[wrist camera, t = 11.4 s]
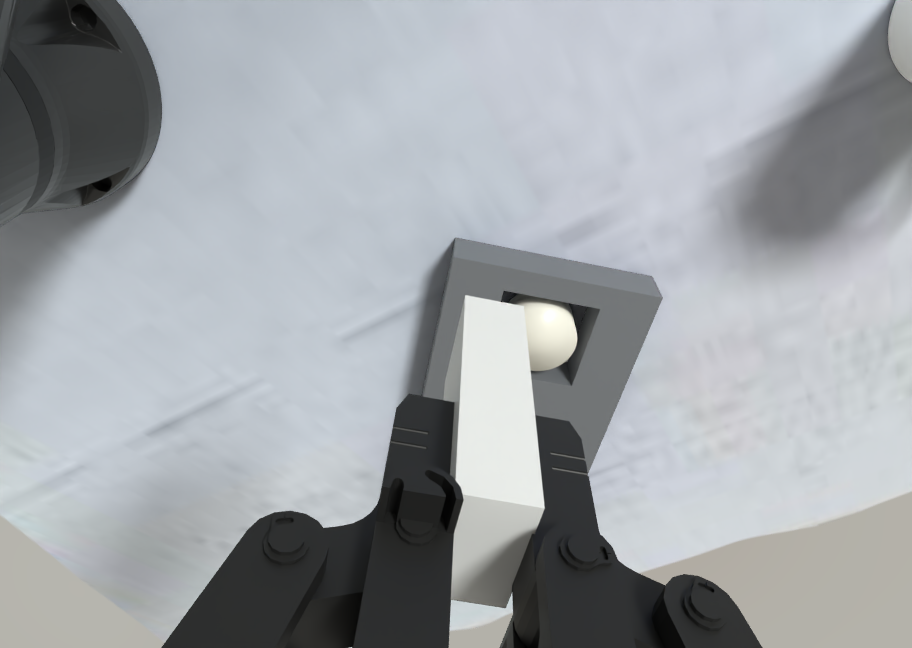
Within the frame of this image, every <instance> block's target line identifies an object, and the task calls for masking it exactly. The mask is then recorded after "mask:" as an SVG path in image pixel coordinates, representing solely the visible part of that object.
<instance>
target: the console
mask: <svg viewBox="0 0 912 648" xmlns="http://www.w3.org/2000/svg"><path fill="white" fill-rule="evenodd" d="M504 291H509V292H514V293H519V294H524V295H529V296H535V297H540V298H545V299H550V300H555V301H561V302H566V303H571V304H576V305H581V306H587V308H586V311H585V314H584V317H583V319H582V322H581V325H580V328H579V331H578V333H577V345H576V348H575V350H574V352H573V354H572V355H571V356H570V358H569V359H568V362H564V363H563V364H561V365H560V366H558V367H555V368H553V369H550V370H545V371H531V380H532V390H533V399H534V409H535V415H537V416H543V417H548V418H554V419H560V420H565V421H569V422H570V423H571V425H572V426H573V427H574V429H575V430H576V432H577V433H578V435H579V436H580V438H581V439H582V444H583V450H584V455H585V461H586V465H587V471H588V472H589V470H590V468H591V465H592V463H593V461H594V458H595V456H596V453H597V451H598V449H599V446H600V444H601V442H602V439H603V437H604V435H605V432H606V430H607V428H608V425H609V423H610V421H611V418H612V416H613V413H614V411H615V409H616V406H617V404H618V402H619V399H620V397H621V395H622V392H623V390H624V388H625V385H626V383H627V381H628V378H629V376H630V374H631V371H632V369H633V366H634V364H635V362H636V359H637V357H638V355H639V352H640V350H641V348H642V345H643V343H644V341H645V338H646V336H647V334H648V331H649V329H650V326H651V324H652V322H653V319H654V317H655V315H656V312H657V310H658V308H659V305H660V303H661V301H662V298H663V297H662V295H661V293H660V291H659V289H658V287H657V285H656V283H655V281H654V279H653V277H652V276H647V275H642V274H637V273H632V272H627V271H621V270H616V269H611V268H606V267H601V266H596V265H591V264H586V263H581V262H576V261H571V260H566V259H561V258H556V257H551V256H546V255H540V254H535V253H530V252H525V251H520V250H515V249H510V248H505V247H500V246H495V245H490V244H485V243H480V242H475V241H470V240H464V239H459V238H455V242H454V247H453V252H452V256H451V261H450V266H449V270H448V275H447V280H446V284H445V289H444V294H443V298H442V303H441V308H440V312H439V317H438V322H437V326H436V331H435V336H434V340H433V345H432V350H431V354H430V359H429V364H428V368H427V373H426V378H425V382H424V387H423V392H422V396H423V397H428V398H434V399H439V400H444V388H445V379H446V375H447V371H448V367H449V362H450V358H451V354H452V350H453V345H454V341H455V337H456V333H457V328H458V324H459V320H460V316H461V311H462V307H463V303H464V299H465V295H468V296H473V297H478V298H483V299H489V300H494V301H499V302H501V299H502V295H503V292H504ZM587 475H588V474H587Z"/></svg>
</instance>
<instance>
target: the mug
mask: <svg viewBox="0 0 912 648" xmlns="http://www.w3.org/2000/svg"><path fill="white" fill-rule="evenodd" d="M888 46H889V51H890V55H891V58H892V61H893V63H894V65H895V67H896V68H897V70H898V71H899V72H900V74H901V75H902V76H903V77H904V78H906V79H907V80H908V81H909V82H911V83H912V0H896V1H895V4H894V6H893V9H892V13H891V16H890V21H889V27H888Z"/></svg>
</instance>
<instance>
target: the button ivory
mask: <svg viewBox="0 0 912 648" xmlns="http://www.w3.org/2000/svg"><path fill="white" fill-rule="evenodd" d="M508 303H510V304H515V305H520V306H524V312H525V322H526V331H527V341H528V351H529V361H530V370H531V371H545V370H550V369H553V368H555V367H558V366H560V365H561V364H563V363H564V362H566V361H567V360H568V359H569V358H570V356H571V355H572V354H573V352H574V350H575V348H576V345H577V332H576V327H575V323H574V318H573V314H572V310H571V308H570V306H569V304H568V303H566V302H561V301H555V300H550V299H545V298H540V297H535V296H529V295H524V294H518V295H516V296H515V297H513V298H512V299H511V300H510V301H509V302H508Z"/></svg>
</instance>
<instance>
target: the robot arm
mask: <svg viewBox="0 0 912 648" xmlns="http://www.w3.org/2000/svg"><path fill="white" fill-rule="evenodd" d="M161 119H162V102H161V93H160V86H159V82H158V77H157V74H156V70H155V67H154V64H153V61H152V59H151V56H150V54H149V51H148V49H147V47H146V45H145V43H144V41H143V39H142V37H141V35H140V33H139V32H138V30H137V28H136V26H135V25H134V23H133V22H132V20H131V19H130V17H129V16H128V15H127V13H126V12H125V11H124V9H123V8H122V7H121V5H120V4H119V3H118V2H117V1H116V0H0V227H1V226H2V225H4V224H6V223H7V222H9V221H10V220H12V219H13V218H15V217H16V216H18V215H20V214H21V213H30V212H40V211H49V210H58V209H67V208H75V207H80V206H84V205H88V204H91V203H94V202H96V201H99V200H101V199H103V198H105V197H107V196H109V195H111V194H112V193H114V192H115V191H117V190H118V189H120V188H121V187H122V186H124V185H125V184H127V183H128V182H129V181H131V180H132V179H133V178H134V177H135V176H136V175H137V174H138V173H140V171H141V170H142V169H143V168H144V167H145V165H146V164H147V162H148V161H149V159H150V157H151V156H152V154H153V151H154V149H155V147H156V144H157V141H158V137H159V133H160V128H161ZM587 474H588V471H587V465H586V461H585V455H584V450H583V444H582V439H581V438H580V436H579V435H578V433H577V432H576V430H575V429H574V427H573V426H572V425H571V423H570V422H569V421H565V420H560V419H554V418H548V417H543V416H537V415H535V409H534V399H533V390H532V380H531V370H530V361H529V351H528V341H527V331H526V322H525V312H524V306H520V305H515V304H510V303H504V302H499V301H494V300H489V299H483V298H478V297H473V296H468V295H465V299H464V303H463V307H462V311H461V316H460V320H459V324H458V328H457V333H456V337H455V341H454V345H453V350H452V354H451V358H450V362H449V367H448V371H447V375H446V379H445V388H444V400H439V399H434V398H428V397H423V396H417V395H412V394H409V395H408V396H407V397H406V398H405V399H404V400H403V401H402V402H401V404H400V405H399V406H398V407H397V409H396V414H395V419H394V424H393V430H392V435H391V440H390V445H389V451H388V456H387V461H386V467H385V472H384V478H383V483H382V488H381V494H380V499H379V501H378V504H377V506H376V507H375V508H374V510H373V511H372V512H371V513H370V514H369V515H367V516H366V517H365V518H363V519H361V520H359V521H357V522H355V523H353V524H348V525H344V526H337V527H329V528H323V527H322V526H321V524H320V523H319V521H317V520H315V519H313V518H312V517H310V516H308V515H307V514H304V513H299V512H294V511H284V512H275V513H272V514H270V515H268V516H265V517H263V518H261V519H259V520H258V521H257V522H256V523H254V524H253V525H252V526H251V527H250V528H249V529H248V530H247V531H246V533H245V534H244V536H243V537H242V538H241V540H240V541H239V542H238V544H237V545H236V546H235V548H234V549H233V551H232V552H231V553H230V555H229V556H228V557H227V559H226V560H225V562H224V563H223V564H222V566H221V567H220V568H219V570H218V571H217V572H216V574H215V575H214V577H213V578H212V579H211V581H210V582H209V583H208V585H207V586H206V587H205V589H204V590H203V592H202V593H201V594H200V596H199V597H198V598H197V600H196V601H195V602H194V604H193V605H192V607H191V608H190V609H189V611H188V612H187V613H186V615H185V616H184V617H183V619H182V620H181V622H180V623H179V624H178V626H177V627H176V628H175V630H174V631H173V632H172V634H171V635H170V637H169V638H168V639H167V641H166V642H165V643H164V645H163V646H162V648H349V647H352V648H448V647H449V646H448V645H449V626H450V605H451V600H457V601H463V602H469V603H476V604H482V605H489V606H495V607H501V608H506V606H507V603H508V601H509V598H510V596H511V593H512V595H513V616H512V618H511V621H510V624H509V626H508V628H507V631H506V633H505V636H504V638H503V641H502V643H501V646H500V648H762V646H761V645H760V643H759V641H758V640H757V638H756V636H755V635H754V633H753V631H752V630H751V628H750V626H749V625H748V623H747V621H746V620H745V618H744V616H743V615H742V613H741V611H740V610H739V608H738V607H737V605H736V604H735V603H734V601H733V600H732V599H731V598H730V596H729V595H728V594H727V593H726V592H725V591H723V590H722V589H721V588H719V587H718V586H717V585H716V584H714V583H713V582H711V581H708V580H706V579H704V578H702V577H699V576H694V575H686V574H683V575H680V576H676V577H673V578H672V579H671V580H670V581H669V582H668V583H667V584H666V586H665V585H663V584H661V583H659V582H656V581H654V580H651V579H650V578H647V577H645V576H643V575H641V574H639V573H637V572H635V571H633V570H631V569H629V568H628V567H626V566H624V565H623V564H622V563H621V562H619V561H618V559H617V557H616V555H615V552H614V550H613V548H612V546H611V545H610V544H609V543H608V542H607V541H606V540H605V538H604V537H603V536H601V535H600V533H599V529H598V524H597V518H596V513H595V508H594V503H593V497H592V492H591V487H590V481H589V476H587Z"/></svg>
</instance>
